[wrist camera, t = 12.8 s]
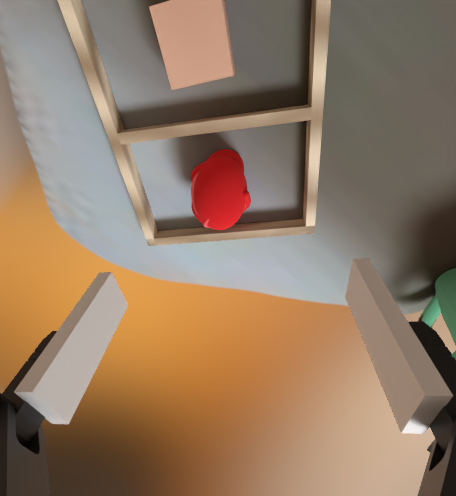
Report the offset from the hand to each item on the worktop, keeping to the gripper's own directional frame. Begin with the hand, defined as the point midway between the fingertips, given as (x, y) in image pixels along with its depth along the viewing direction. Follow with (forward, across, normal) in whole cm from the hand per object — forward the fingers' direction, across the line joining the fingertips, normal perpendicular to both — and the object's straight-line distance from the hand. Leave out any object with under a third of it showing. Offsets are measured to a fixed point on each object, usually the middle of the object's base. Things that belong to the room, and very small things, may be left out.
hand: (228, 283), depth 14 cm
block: (+17, -2, +12) cm, 21 cm away
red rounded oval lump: (+17, -2, 0) cm, 17 cm away
